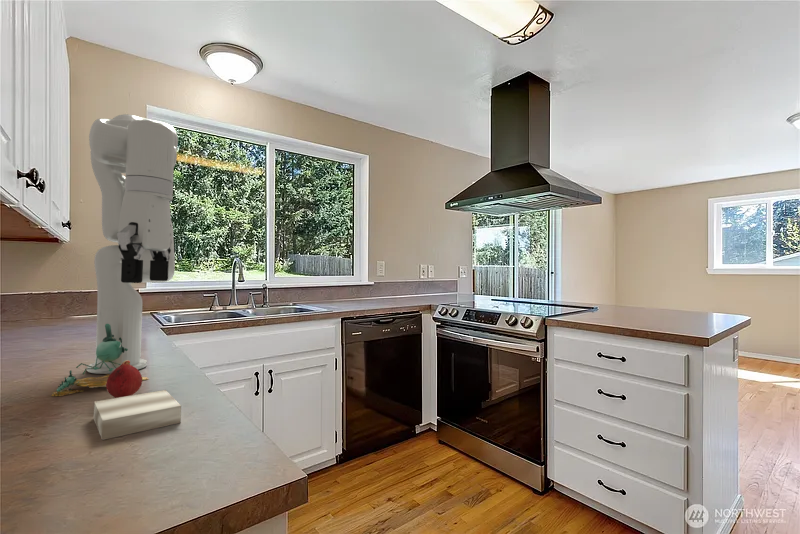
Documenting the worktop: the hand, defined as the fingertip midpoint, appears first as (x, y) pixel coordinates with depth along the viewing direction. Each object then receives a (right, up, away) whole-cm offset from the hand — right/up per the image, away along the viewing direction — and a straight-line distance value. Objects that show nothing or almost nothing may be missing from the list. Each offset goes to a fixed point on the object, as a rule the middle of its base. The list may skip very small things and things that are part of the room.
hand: (146, 281), depth 74 cm
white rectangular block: (+1, -24, -5) cm, 25 cm away
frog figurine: (-19, -24, +14) cm, 33 cm away
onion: (-8, -24, +5) cm, 26 cm away
